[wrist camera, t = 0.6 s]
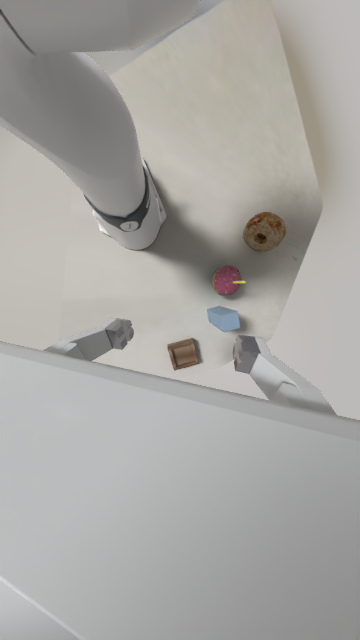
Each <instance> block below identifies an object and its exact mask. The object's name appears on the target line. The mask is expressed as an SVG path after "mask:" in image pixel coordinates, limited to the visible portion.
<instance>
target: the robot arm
mask: <svg viewBox="0 0 360 640" xmlns="http://www.w3.org/2000/svg"><path fill="white" fill-rule="evenodd" d="M200 1H201V0H0V126H2V127H3V128H5V129H6V130H8V131H9V132H11V133H12V134H14V135H15V136H17V137H18V138H20V139H21V140H23V141H24V142H26V143H27V144H29V145H30V146H32V147H33V148H34V149H36V150H37V151H39V152H40V153H41V154H43V155H44V156H45V157H47V158H48V159H49V160H51V161H52V162H53V163H54V164H55V165H57V166H58V167H59V168H60V169H61V170H62V171H63V172H64V173H65V174H66V175H67V176H68V177H69V178H70V179H71V180H72V181H73V182H74V184H75V185H76V186H77V187H78V188H79V189H80V190H81V191H82V192H83V194H84V196H85V198H86V199H87V201H88V202H89V204H90V206H91V207H92V209H93V212H92V213H93V215H94V217H95V218H96V219H97V221H98V224H99V229H100V230H101V232H102V233H104V234H105V235H108V236H110V237H112V238H114V239H115V240H116V241H117V242H118V243H119V244H121V245H122V246H124V247H126V248H128V249H132V250H140V249H144V248H146V247H148V246H150V245H151V244H152V243H153V242H154V240H155V239H156V237H157V235H158V232H159V229H160V226H161V225H162V224H163V222H164V221H165V220H166V212H165V210H164V207H163V205H162V202H161V200H160V198H159V195H158V193H157V190H156V188H155V186H154V183H153V181H152V178H151V176H150V173H149V171H148V169H147V166H146V164H145V161H144V159H143V157H142V156H141V155H140V150H139V145H138V140H137V134H136V130H135V126H134V123H133V120H132V117H131V114H130V112H129V110H128V108H127V106H126V104H125V102H124V100H123V98H122V97H121V95H120V93H119V91H118V90H117V88H116V87H115V85H114V84H113V82H112V81H111V79H110V78H109V76H108V75H107V74H106V73H105V72H104V70H103V69H102V68H101V67H100V66H99V65H98V64H97V63H96V62H95V61H94V60H92V59H91V58H90V57H89V56H88V55H86V54H85V53H84V52H99V51H127V50H134V49H136V48H138V47H140V46H143V45H145V44H147V43H149V42H151V41H153V40H155V39H157V38H159V37H161V36H163V35H164V34H166V33H168V32H169V31H171V30H173V29H175V28H176V27H178V26H180V25H181V24H183V23H185V22H186V21H188V20H190V19H191V18H192V17H193V16H194V14H195V13H196V11H197V8H198V6H199V4H200ZM160 210H161V212H160ZM131 326H132V323H131V321H130V320H125V319H118V318H111V319H110V320H108V321H107V322H106V323H104V324H103V325H101V326H100V327H99V328H95V329H92V330H88V331H85V332H82V333H79V334H76V335H73V336H70V337H67V338H64V339H61V340H59V341H58V342H56V343H55V344H53V345H52V346H50V347H48V348H47V349H45V350H44V351H42V350H37V349H32V348H28V347H24V346H19V345H15V344H10V343H6V342H2V341H0V640H360V420H356V419H351V418H347V417H342V416H338V415H336V413H335V412H334V410H333V409H332V407H331V406H330V404H329V403H328V401H327V400H326V399H325V397H324V396H323V394H322V393H321V391H320V390H319V389H318V388H317V387H315V386H314V385H312V384H311V383H310V382H309V381H307V380H306V379H305V378H303V377H302V376H301V375H299V374H298V373H296V372H295V371H294V370H293V369H291V368H290V367H289V366H287V365H286V364H285V363H283V362H282V361H281V360H279V359H278V358H277V357H275V356H272V355H271V353H270V351H269V349H268V347H267V345H266V343H265V341H264V339H263V338H262V337H252V336H244V335H237V337H236V343H235V344H234V347H233V358H234V359H235V361H234V365H235V370H236V371H239V372H243V373H248V374H250V376H251V377H252V379H253V380H254V381H255V382H256V384H257V385H258V386H259V387H260V389H261V390H262V391H263V393H264V394H265V395H266V396H267V397H268V399H269V400H270V401H269V400H265V399H260V398H256V397H251V396H246V395H242V394H238V393H233V392H228V391H224V390H219V389H214V388H210V387H206V386H201V385H197V384H192V383H188V382H183V381H179V380H174V379H169V378H165V377H160V376H156V375H151V374H147V373H142V372H138V371H133V370H129V369H124V368H119V367H115V366H110V365H106V364H101V363H97V362H92V360H94V359H96V358H98V357H99V356H101V355H103V354H104V353H106V352H108V351H110V350H111V349H113V348H115V349H121V350H122V349H123V348H124V347H125V346H126V345H127V342H128V341H130V340H131V339H132V338H133V335H134V331H133V329H132V327H131Z"/></svg>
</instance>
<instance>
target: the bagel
mask: <svg viewBox="0 0 360 640" xmlns="http://www.w3.org/2000/svg"><path fill="white" fill-rule="evenodd" d="M285 233H286V228H285V224H284V222H283V220H282V219H281V218H280V217H278V216H277V215H275V214H272V213H269V212H264V213H260V214H257V215H255V217H253V218H252V219H250V220H249V222H248V223H247V225H246V227H245V229H244V232H243V235H244V239H245V241H246V243H247V244H248V245H249V246H251V247H252V248H254V249H255V250H258V251H268V250H271V249H273V248H274V247H276V246H277V245H278V244H279V243H280V242H281V241H282V240H283V238H284V236H285Z"/></svg>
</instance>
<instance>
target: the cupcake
mask: <svg viewBox="0 0 360 640" xmlns="http://www.w3.org/2000/svg"><path fill="white" fill-rule="evenodd" d="M245 283H248V282H246V281H241V276H240V273H239V271H238V270H237V269H236V268H234V267H233V266H223V267H220V268H219V269H217V270H216V271H215V273H214V275H213V281H212V286H213V288H214V290H215V291H216V292H217V293H218V294H219V295H231V294H233V293H234V292H235V291H237V289H238V288H239V287H240V285H241V284H245Z"/></svg>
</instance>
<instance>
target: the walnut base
mask: <svg viewBox="0 0 360 640" xmlns="http://www.w3.org/2000/svg"><path fill="white" fill-rule="evenodd" d="M168 351H169V354H170V358H171V361H172V365H173V368H174V370H178V369H181V368H185V367H188V366H192V365H196V364H199V362H198V358H197V354H196V350H195V346H194V341H193V339H192V338H190V339H187V340H183V341H179V342H176V343H172V344H168Z"/></svg>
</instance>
